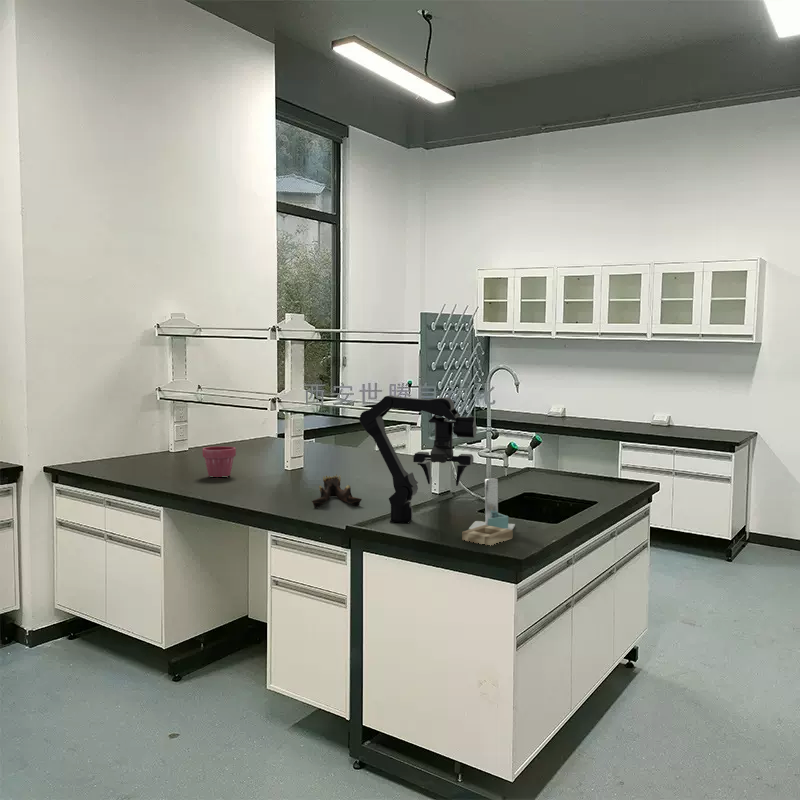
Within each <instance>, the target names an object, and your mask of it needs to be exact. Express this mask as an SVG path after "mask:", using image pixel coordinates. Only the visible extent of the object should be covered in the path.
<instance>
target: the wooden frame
mask: <svg viewBox="0 0 800 800" xmlns="http://www.w3.org/2000/svg"><path fill="white" fill-rule="evenodd" d="M461 532H462V533H461V541H464V540H465V542H469V541H470V542H469V543H473V542H474V544H478V543H479V544H478V545H482V544H485V545H484V546H487V545H490V546H489V547H492V546H495V545H497V544H496V543H498V544H500V543H499V542H501V543H504V542H506V541H508V540H512V539H513V537H514V536H513V532H514V529H513V530H509V529H504V528H499V527H494V526H489V525H483V526H479V527H476V528H473V529H470V530H469V529H467V530H463V531H461ZM503 541H504V542H503ZM494 544H495V545H494ZM491 545H492V546H491Z"/></svg>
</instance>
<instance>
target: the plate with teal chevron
mask: <svg viewBox="0 0 800 800" xmlns="http://www.w3.org/2000/svg"><path fill="white" fill-rule="evenodd" d="M483 525H485V521H481V520H475V521H474V522H473V523H472V524H471V525H470V526H469V528H468V530H470V529H473V528H476V527H479V526H483ZM488 525H489V526H494V527H499V528H504V529H509V530H513V531H514V528H515V527H516V523H509V516H508V515H507V514H506V515H505V514H502V513H500V512H498V517H496V518H488Z"/></svg>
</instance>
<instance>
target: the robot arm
mask: <svg viewBox="0 0 800 800" xmlns="http://www.w3.org/2000/svg"><path fill="white" fill-rule="evenodd" d="M392 409H399V410H409V411H410V410H412V411H419V412H421V411H422V412H425V413H429V414H431V415H433V416H432V417H431V418H430V419H428V423H432V424H433V423H434V441H433V447H432V449H431V450H430V452H429V451H418V452H415V453H414V454H413V457H412V458H413V459H412V460H413V461H412V462H413V463H417V466H420V467H421V468H422V470H423V472H424V475H425V478H426V481H427V484H428V485H431V479H432V477H431V475H432V473H431V463H441V464H445V463H446V462H452V463H453V462H454V463H455V462H456V463H457V462H458V464H457V465H456V469H457V470H456V480H455V486H459V484H460V481H461V479H462V476H463V473H464V471H465V469H466V468H468V467H469V466H471V465H473V463H474V455H473V454H472V453H460V454H459V455H454V449H453V443H454V440H453V434H454V435H455V436H456V437H457V438H465V439H475V438H476V436H477V432H478V431H477V429H478V427H477V422H476V416H461V415H460V414H459V412H458V411H457V409H456V408H455V403H454V401H453V400H452V399H451V398H450V397H445V396H444V397H435V398H427V399H425V398H415V397H404V396H394V395H391V394H390V395H386V396H383V398H381V400H380V401H379V402H377V403H376V404H375V405H374V406H372V407H370V409H367V410H364V411H362V412H360V413H361V414H360V415H359V423H360V425H361V426H362V428H363V429H364V430H365V432H366V433H367V434H369V435H370V437H372V438H373V441H374V442H375V444H376V446H377V449H378V451H379V453H380V455H381V457H382V458H383V460H384V462H385V465H386V467H387V469H388V470H389V473H390V475H391V478H392V483H393V489H394V491H395V492H393V494H392V495H391V496H389V498H388V501H389V504H390V519H389V523H391V522H410V523H411V521H412V520H413V514H414V513H413V506H412V499H413V497H414V496H415V495H416V494H417V493H418V489H419V487H418V484H419V481H417V479H416V478H415V476H414V473H413V472H410V473H408V472H407V471H406V470H405V468H404V466H403V465H402V463H401V460H400V459H399V458H400V457H398V455H397V452H396V451H395V449H394V447H393V444H392V442H391V441H390V439H389V437H388V435H387V433H386V427H385V421H384V418H383V417H385V415H387V413H389V412H390V411H391V410H392Z"/></svg>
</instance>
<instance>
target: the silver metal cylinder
mask: <svg viewBox="0 0 800 800" xmlns="http://www.w3.org/2000/svg"><path fill="white" fill-rule="evenodd" d="M498 480H499V479H498V478H494V477H493V478H492V477H491V478H488V477H487V478H484V507H485V508H484V509H485V510H484V514H485V517H484V518H485V519H484V520H485V521H484V522H485V525H488V518H496V517H498V513H499V499H498V498H499V491H498V490H499V487H498V485H499V484H498Z"/></svg>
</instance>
